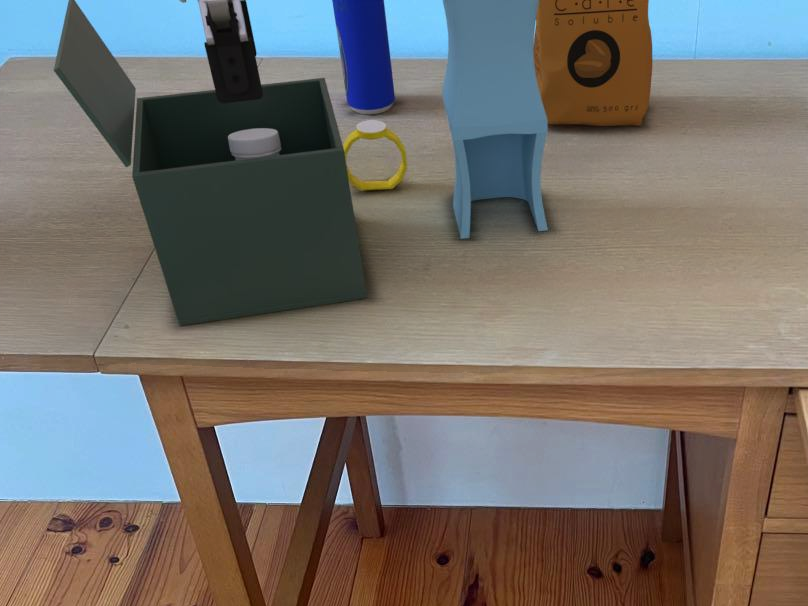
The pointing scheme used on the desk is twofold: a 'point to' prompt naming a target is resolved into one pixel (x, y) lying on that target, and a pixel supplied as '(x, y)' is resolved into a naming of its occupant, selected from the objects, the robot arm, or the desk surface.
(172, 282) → the open box
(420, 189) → the desk surface
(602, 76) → the coffee package
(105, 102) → the box flap
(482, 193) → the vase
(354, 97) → the beverage can
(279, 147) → the supplement bottle
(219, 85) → the robot arm
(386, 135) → the watch
